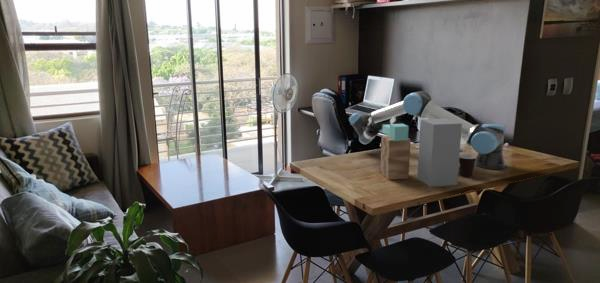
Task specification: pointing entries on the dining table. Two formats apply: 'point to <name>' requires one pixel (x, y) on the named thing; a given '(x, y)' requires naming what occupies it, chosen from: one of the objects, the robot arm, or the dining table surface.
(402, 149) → the walnut block
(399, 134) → the teal bar
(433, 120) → the stand
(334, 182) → the dining table surface
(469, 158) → the coffee mug
